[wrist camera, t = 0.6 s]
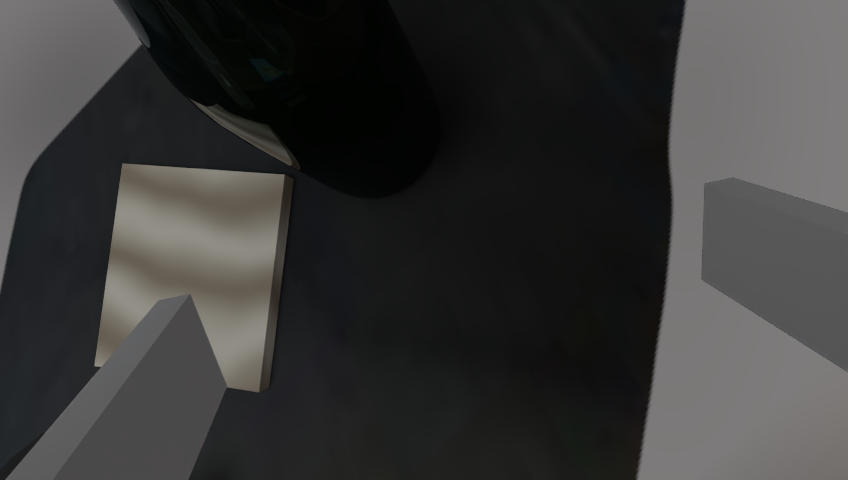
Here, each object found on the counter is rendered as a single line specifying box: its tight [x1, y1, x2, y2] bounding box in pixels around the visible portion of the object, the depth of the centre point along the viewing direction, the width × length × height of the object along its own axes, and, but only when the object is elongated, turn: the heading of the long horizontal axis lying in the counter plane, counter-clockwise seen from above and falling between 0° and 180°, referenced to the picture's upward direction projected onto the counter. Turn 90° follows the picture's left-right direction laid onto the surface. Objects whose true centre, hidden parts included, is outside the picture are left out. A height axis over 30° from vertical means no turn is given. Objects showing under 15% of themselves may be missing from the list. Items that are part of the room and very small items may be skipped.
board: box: [95, 164, 294, 392], centre depth 38 cm, size 16×14×2 cm
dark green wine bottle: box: [113, 0, 440, 198], centre depth 20 cm, size 10×10×33 cm
